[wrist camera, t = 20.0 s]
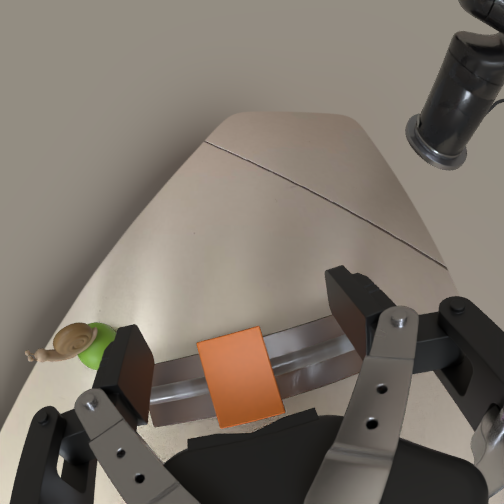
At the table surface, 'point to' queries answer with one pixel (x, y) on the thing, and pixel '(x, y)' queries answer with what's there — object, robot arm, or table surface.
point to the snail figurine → (78, 344)
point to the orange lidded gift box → (240, 377)
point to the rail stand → (282, 361)
